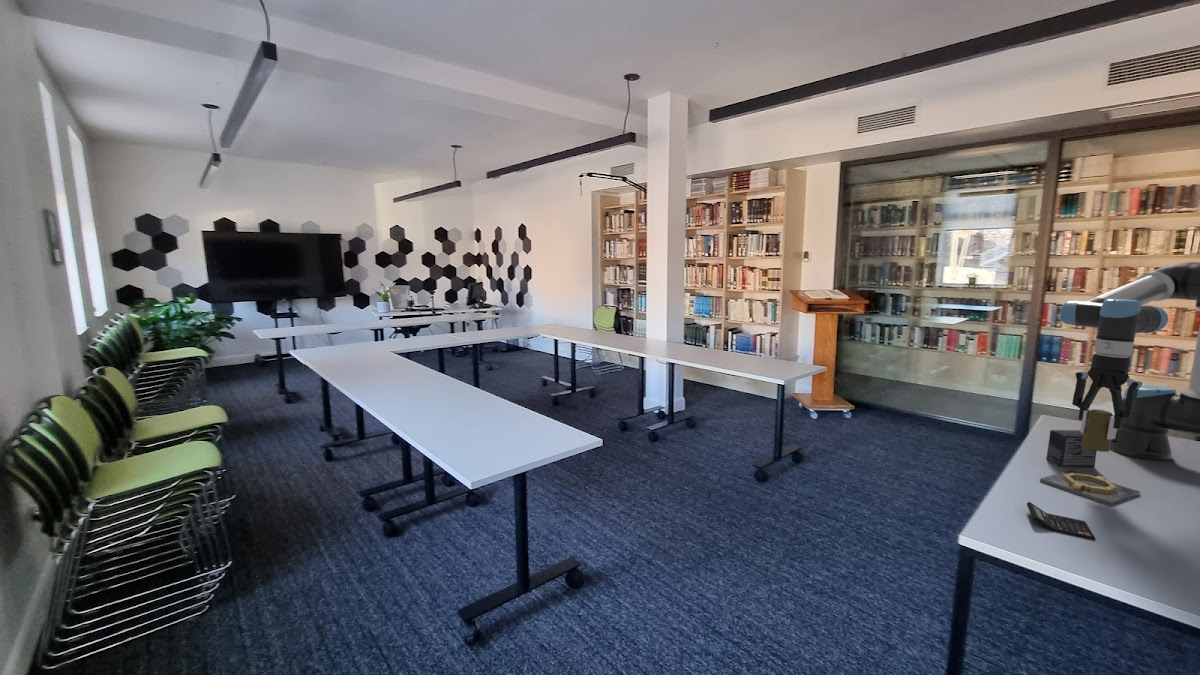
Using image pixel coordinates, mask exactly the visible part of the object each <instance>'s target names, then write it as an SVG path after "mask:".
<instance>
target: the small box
mask: <svg viewBox="0 0 1200 675" xmlns="http://www.w3.org/2000/svg"><path fill="white" fill-rule="evenodd" d="M1080 430H1081V429H1080ZM1080 430H1075V429H1072V430H1068V429H1050V432H1049V438H1048V445H1047V451H1046V458H1045V460H1046V461H1048V462H1051V463H1052V464H1055V465H1056V466H1058V467H1060V468H1095V466H1096V458H1097V452H1098V451H1095V450H1091V449H1087V448H1084V447H1082V446H1081V442H1082V440H1083V437H1084V434H1085V433H1082V432H1080Z"/></svg>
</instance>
